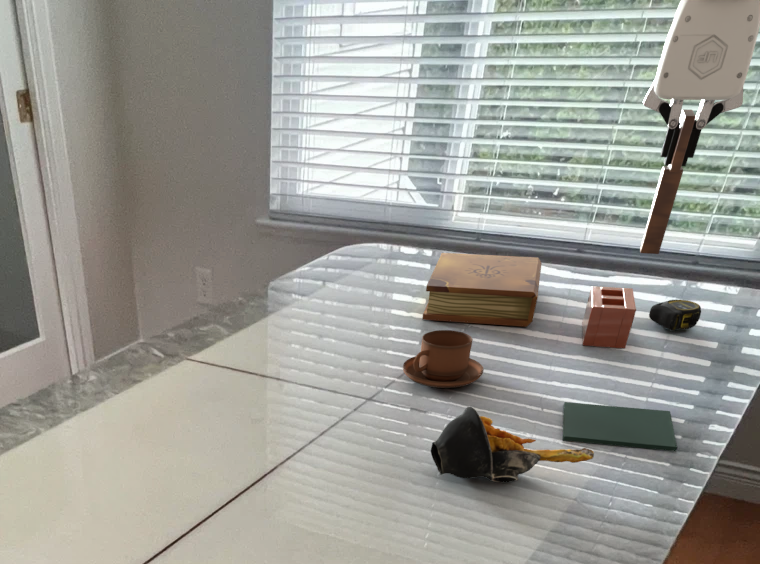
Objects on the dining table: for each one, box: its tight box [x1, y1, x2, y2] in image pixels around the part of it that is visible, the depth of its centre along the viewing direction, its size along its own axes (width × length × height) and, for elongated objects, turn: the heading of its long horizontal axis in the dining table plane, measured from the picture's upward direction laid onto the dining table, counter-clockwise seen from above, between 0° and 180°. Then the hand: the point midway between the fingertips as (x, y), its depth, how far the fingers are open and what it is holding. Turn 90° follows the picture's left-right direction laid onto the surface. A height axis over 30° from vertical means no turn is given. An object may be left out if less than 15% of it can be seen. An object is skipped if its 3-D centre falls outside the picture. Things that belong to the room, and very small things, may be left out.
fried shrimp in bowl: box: [430, 405, 595, 483], centre depth 102 cm, size 9×11×18 cm
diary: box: [422, 252, 542, 328], centre depth 154 cm, size 23×19×6 cm
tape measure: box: [648, 299, 702, 332], centre depth 142 cm, size 7×7×4 cm
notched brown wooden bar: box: [639, 109, 696, 255], centre depth 113 cm, size 2×6×16 cm, turn 162°
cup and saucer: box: [402, 329, 484, 389], centre depth 127 cm, size 12×12×6 cm
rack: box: [581, 285, 637, 350], centre depth 140 cm, size 7×12×6 cm, turn 163°
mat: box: [562, 401, 678, 452], centre depth 115 cm, size 14×12×1 cm
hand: (674, 163), depth 111 cm, fingers closed on notched brown wooden bar, 1 cm apart
